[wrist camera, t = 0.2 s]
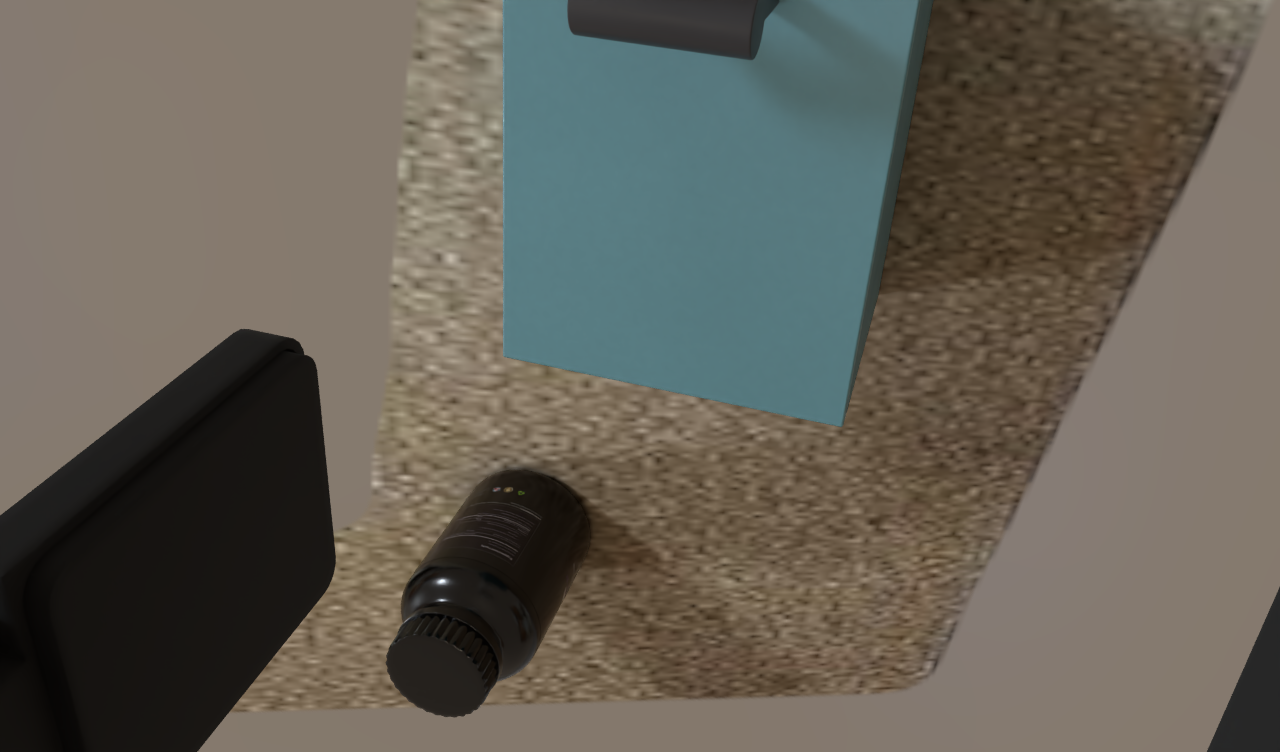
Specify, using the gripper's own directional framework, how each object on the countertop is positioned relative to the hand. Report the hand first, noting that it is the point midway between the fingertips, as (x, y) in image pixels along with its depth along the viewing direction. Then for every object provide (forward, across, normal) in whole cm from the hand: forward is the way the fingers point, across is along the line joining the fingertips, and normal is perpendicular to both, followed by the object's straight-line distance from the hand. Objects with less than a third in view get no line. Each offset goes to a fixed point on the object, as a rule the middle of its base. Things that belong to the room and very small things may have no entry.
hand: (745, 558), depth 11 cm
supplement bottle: (+37, +16, +31) cm, 50 cm away
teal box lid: (+27, +7, +6) cm, 28 cm away
